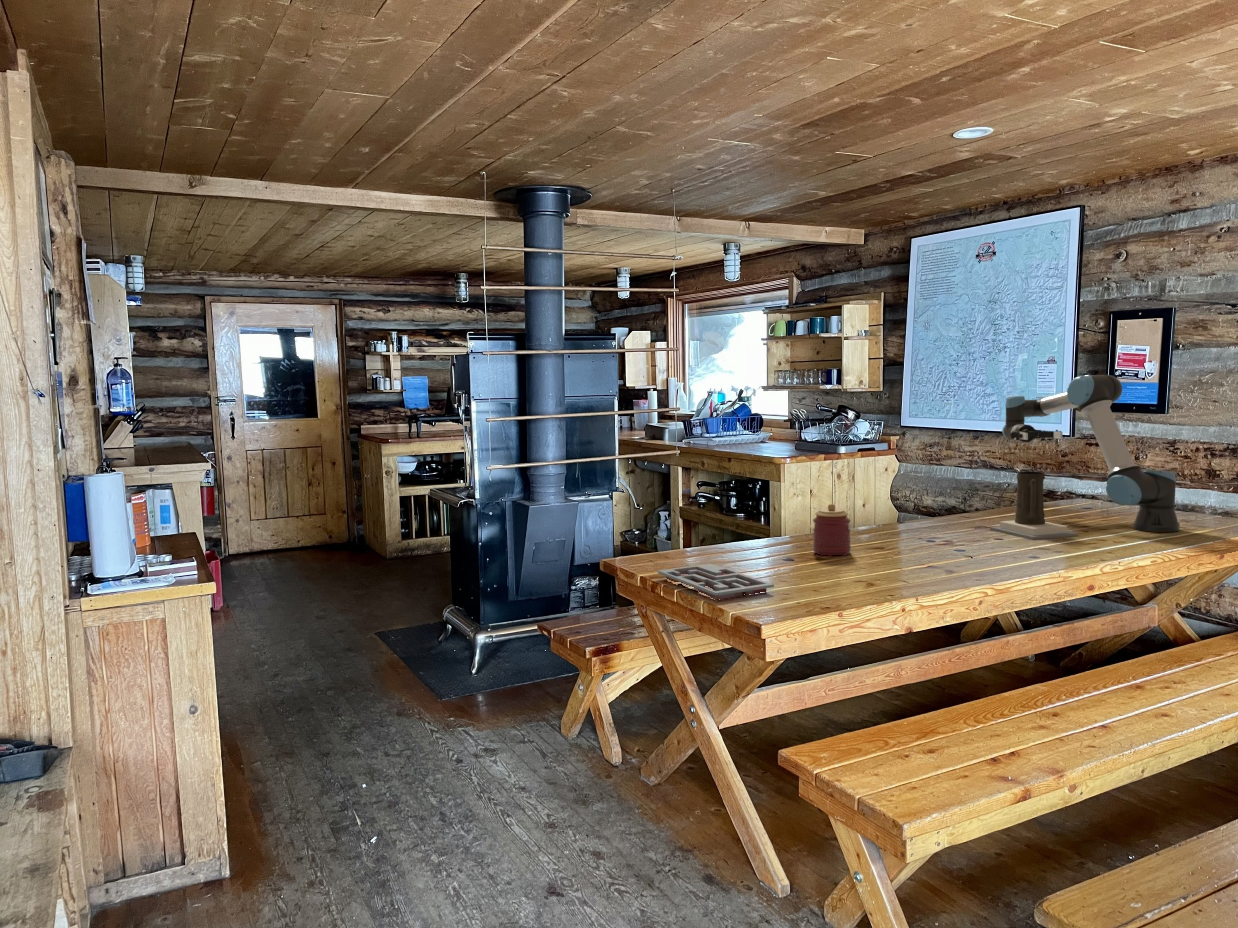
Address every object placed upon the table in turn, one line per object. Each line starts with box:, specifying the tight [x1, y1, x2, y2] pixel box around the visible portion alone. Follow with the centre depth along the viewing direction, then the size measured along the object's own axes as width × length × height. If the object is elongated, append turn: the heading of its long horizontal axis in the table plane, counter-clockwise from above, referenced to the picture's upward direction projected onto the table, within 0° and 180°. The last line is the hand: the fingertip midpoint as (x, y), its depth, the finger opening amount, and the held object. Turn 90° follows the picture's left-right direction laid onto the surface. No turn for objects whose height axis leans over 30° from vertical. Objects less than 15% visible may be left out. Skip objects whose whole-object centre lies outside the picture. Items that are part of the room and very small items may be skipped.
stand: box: [989, 519, 1079, 540], centre depth 341 cm, size 20×24×4 cm
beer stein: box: [1014, 471, 1046, 525], centre depth 341 cm, size 15×11×20 cm
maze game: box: [657, 563, 775, 601], centre depth 268 cm, size 35×20×3 cm, turn 25°
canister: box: [812, 503, 852, 557], centre depth 312 cm, size 13×13×18 cm
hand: (1044, 436), depth 357 cm, fingers open, 13 cm apart
